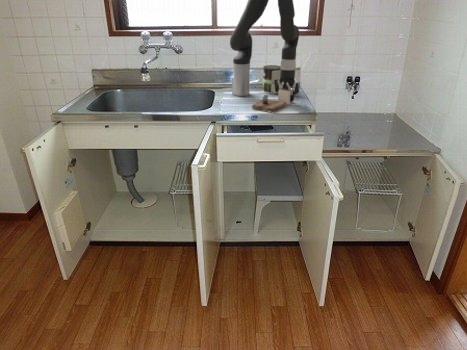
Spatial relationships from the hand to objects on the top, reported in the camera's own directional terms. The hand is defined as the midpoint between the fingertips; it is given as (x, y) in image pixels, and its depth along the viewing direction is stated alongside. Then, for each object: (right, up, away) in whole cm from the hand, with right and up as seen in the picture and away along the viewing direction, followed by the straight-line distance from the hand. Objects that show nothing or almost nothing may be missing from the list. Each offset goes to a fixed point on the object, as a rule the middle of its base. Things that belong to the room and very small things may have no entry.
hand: (285, 100), depth 182 cm
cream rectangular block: (0, -1, +1) cm, 1 cm away
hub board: (-9, -5, -7) cm, 12 cm away
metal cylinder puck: (-12, -3, -7) cm, 14 cm away
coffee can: (-5, +10, +21) cm, 24 cm away
